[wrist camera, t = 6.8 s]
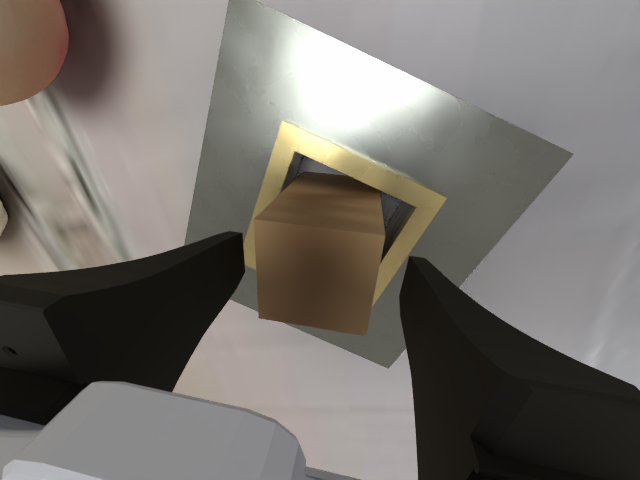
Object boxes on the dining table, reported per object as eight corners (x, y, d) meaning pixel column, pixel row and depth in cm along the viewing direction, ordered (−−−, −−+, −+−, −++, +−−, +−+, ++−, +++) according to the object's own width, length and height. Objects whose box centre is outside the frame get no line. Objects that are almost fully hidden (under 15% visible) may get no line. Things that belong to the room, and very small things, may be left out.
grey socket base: (540, 146, 14) (583, 156, 11) (386, 341, 21) (388, 376, 18) (254, 8, 13) (224, -18, 10) (198, 258, 21) (172, 281, 18)
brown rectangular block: (378, 179, 16) (385, 235, 9) (367, 245, 18) (366, 336, 11) (303, 171, 16) (253, 219, 9) (301, 237, 18) (258, 318, 11)
